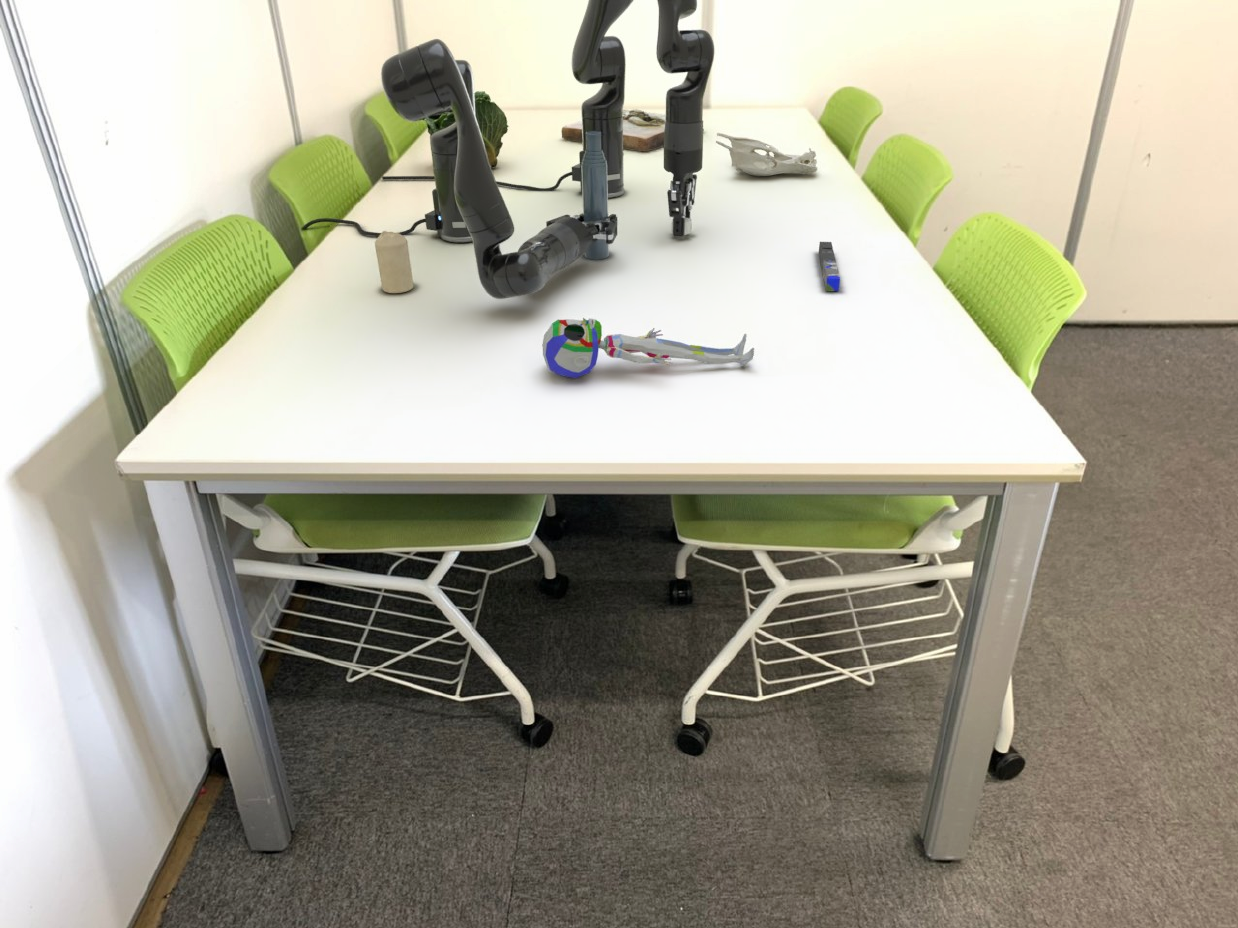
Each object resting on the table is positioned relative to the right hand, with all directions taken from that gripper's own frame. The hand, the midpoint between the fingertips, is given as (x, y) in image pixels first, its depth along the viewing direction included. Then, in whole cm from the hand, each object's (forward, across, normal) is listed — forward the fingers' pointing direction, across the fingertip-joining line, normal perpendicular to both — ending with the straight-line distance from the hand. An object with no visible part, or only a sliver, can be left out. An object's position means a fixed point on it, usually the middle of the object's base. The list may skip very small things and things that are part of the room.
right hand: (681, 232), depth 181 cm
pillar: (+1, +12, +31) cm, 33 cm away
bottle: (+1, +15, -13) cm, 20 cm away
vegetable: (+1, -38, -66) cm, 76 cm away
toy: (+1, +60, +11) cm, 61 cm away
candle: (+1, +42, -41) cm, 58 cm away
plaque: (+1, -84, -37) cm, 92 cm away
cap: (-2, 0, 0) cm, 2 cm away
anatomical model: (+1, -52, +7) cm, 53 cm away
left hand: (-6, +13, -12) cm, 19 cm away
